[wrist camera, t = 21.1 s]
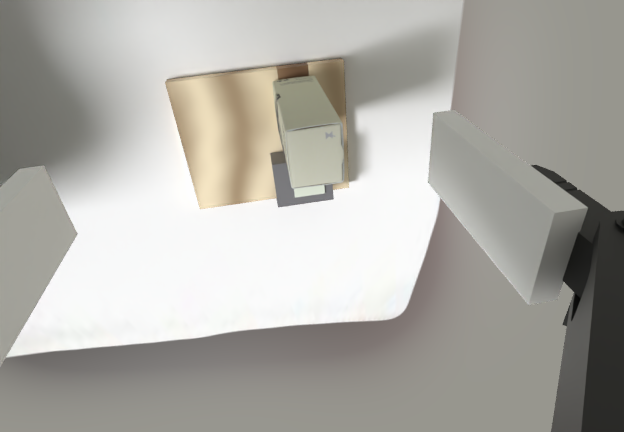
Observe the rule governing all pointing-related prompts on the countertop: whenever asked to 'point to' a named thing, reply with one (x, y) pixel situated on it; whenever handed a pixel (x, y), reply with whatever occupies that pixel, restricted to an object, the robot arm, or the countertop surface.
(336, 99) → the board
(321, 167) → the box
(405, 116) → the countertop surface
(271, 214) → the countertop surface
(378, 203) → the countertop surface
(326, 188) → the gray block
